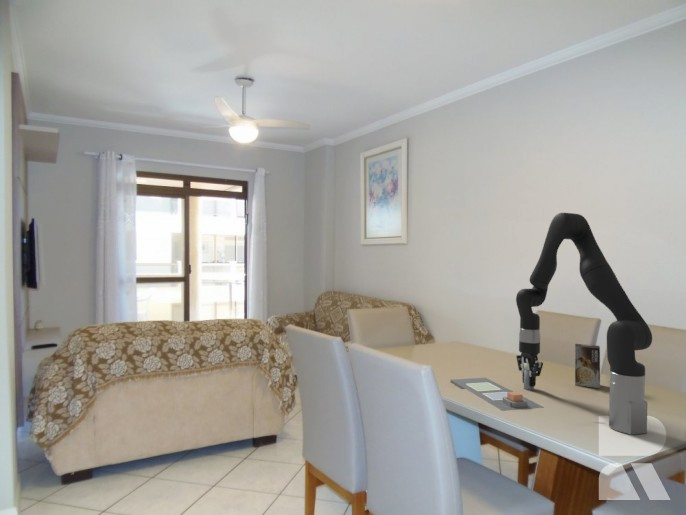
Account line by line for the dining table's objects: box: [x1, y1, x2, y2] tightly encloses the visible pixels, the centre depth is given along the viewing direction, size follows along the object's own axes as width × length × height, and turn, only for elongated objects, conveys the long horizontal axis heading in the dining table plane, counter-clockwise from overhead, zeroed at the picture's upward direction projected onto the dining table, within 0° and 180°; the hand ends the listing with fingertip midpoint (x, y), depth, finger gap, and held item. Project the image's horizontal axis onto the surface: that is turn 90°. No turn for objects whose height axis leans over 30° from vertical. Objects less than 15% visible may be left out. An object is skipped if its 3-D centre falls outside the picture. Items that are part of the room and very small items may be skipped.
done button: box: [507, 391, 524, 402], centre depth 164 cm, size 4×4×2 cm
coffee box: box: [574, 343, 601, 389], centre depth 192 cm, size 9×6×16 cm
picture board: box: [450, 377, 545, 412], centre depth 177 cm, size 38×16×3 cm, turn 13°
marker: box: [523, 363, 535, 391], centre depth 182 cm, size 4×4×11 cm
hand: (528, 384), depth 182 cm, fingers closed on marker, 3 cm apart
